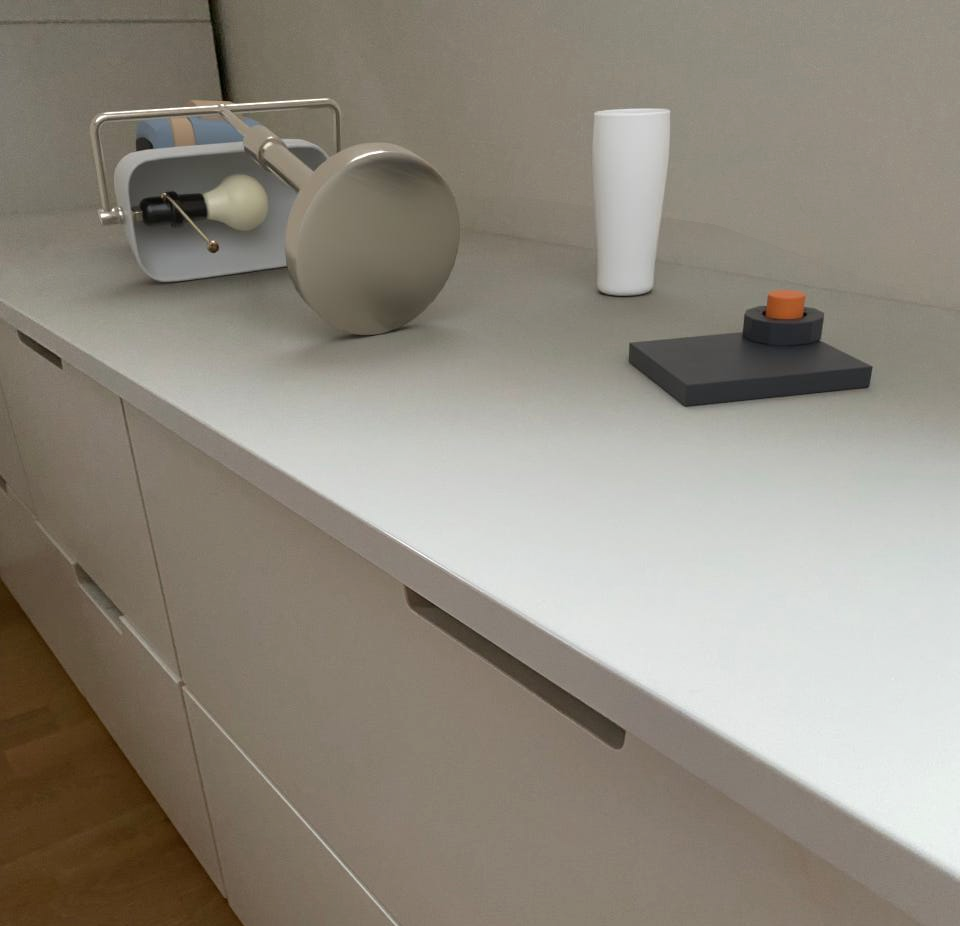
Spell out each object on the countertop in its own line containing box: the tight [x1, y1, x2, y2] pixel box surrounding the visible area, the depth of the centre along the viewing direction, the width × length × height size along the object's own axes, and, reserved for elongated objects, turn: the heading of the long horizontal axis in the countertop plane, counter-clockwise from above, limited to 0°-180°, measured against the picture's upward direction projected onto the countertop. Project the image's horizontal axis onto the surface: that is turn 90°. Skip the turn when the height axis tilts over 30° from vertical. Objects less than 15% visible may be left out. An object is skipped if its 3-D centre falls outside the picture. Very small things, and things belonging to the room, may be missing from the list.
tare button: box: [766, 289, 807, 319], centre depth 71 cm, size 3×3×2 cm
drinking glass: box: [591, 107, 672, 297], centre depth 89 cm, size 7×7×15 cm
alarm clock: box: [135, 99, 265, 152], centre depth 121 cm, size 16×16×16 cm
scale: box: [628, 305, 874, 407], centre depth 68 cm, size 14×12×3 cm
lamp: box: [89, 97, 461, 336], centre depth 92 cm, size 27×23×40 cm
